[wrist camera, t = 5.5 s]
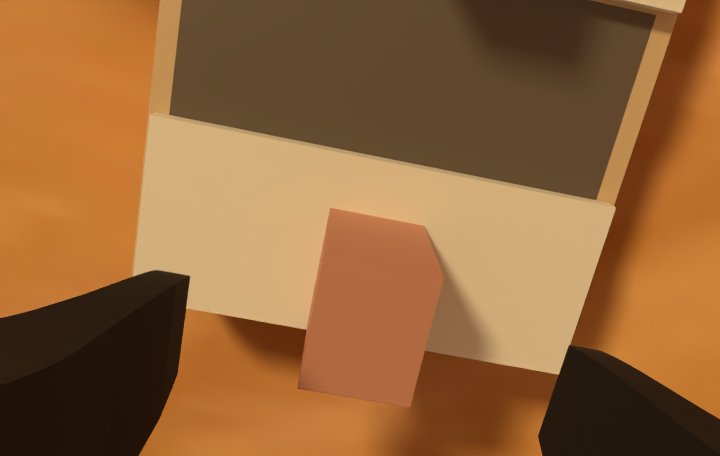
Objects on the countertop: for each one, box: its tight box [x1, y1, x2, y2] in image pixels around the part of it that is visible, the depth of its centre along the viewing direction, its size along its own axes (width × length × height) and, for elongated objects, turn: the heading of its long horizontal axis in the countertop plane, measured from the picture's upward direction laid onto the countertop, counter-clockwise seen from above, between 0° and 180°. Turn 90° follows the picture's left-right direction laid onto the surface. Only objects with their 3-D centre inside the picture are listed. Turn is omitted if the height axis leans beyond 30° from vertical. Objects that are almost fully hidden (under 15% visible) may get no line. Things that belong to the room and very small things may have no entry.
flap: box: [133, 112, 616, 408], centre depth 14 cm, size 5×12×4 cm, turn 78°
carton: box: [132, 0, 678, 277], centre depth 17 cm, size 10×12×4 cm
